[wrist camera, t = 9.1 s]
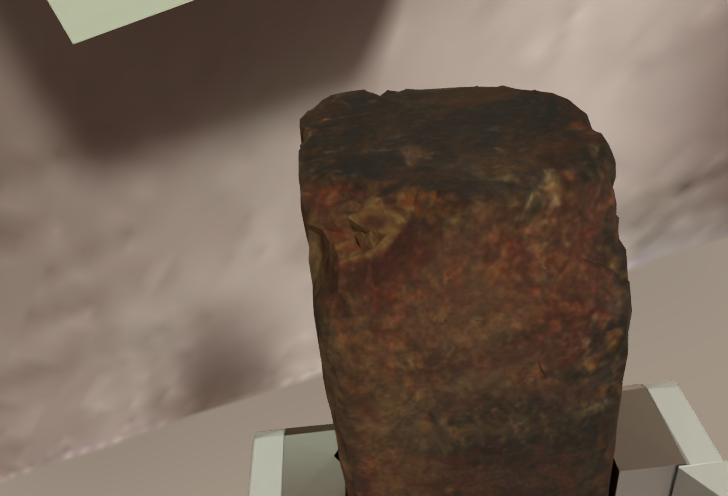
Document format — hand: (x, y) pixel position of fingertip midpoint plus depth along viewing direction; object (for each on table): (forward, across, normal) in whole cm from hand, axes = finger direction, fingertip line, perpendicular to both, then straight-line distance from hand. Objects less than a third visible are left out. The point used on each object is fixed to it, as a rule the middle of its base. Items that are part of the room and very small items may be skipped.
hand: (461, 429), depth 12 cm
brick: (+3, 0, 0) cm, 3 cm away
